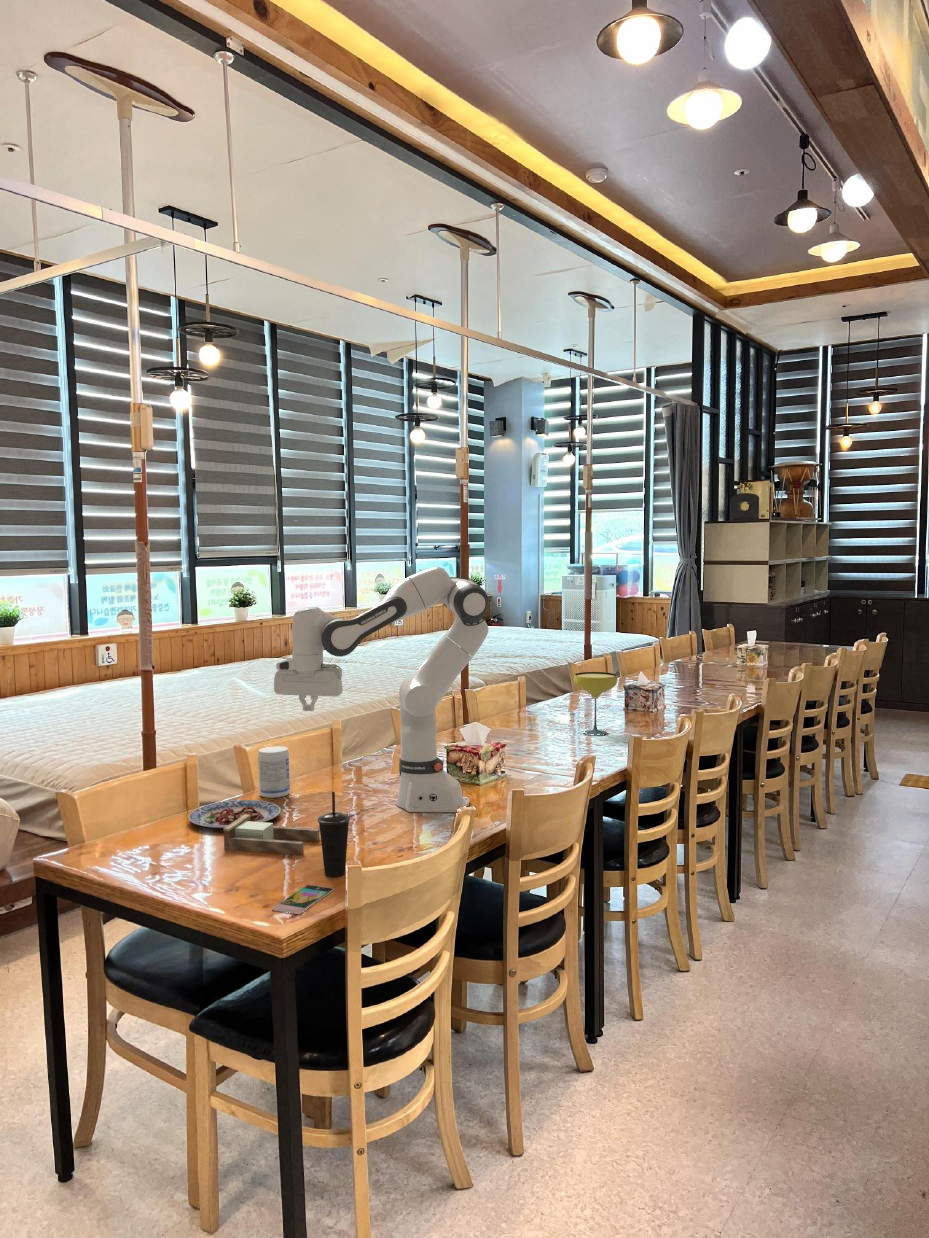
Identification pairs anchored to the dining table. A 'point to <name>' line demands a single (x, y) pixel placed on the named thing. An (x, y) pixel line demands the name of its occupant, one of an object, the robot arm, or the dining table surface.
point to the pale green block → (255, 830)
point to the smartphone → (303, 899)
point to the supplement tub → (273, 771)
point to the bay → (268, 844)
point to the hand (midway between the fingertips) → (308, 710)
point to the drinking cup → (334, 841)
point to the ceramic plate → (233, 812)
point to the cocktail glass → (595, 688)
